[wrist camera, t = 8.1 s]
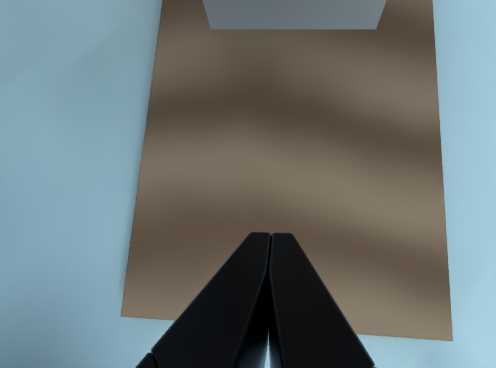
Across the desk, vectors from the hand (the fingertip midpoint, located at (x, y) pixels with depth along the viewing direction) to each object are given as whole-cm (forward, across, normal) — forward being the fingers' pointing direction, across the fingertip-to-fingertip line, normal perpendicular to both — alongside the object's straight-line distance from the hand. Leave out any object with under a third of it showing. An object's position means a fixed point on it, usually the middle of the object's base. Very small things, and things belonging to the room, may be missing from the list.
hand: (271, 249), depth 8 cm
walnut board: (+14, 0, +3) cm, 14 cm away
